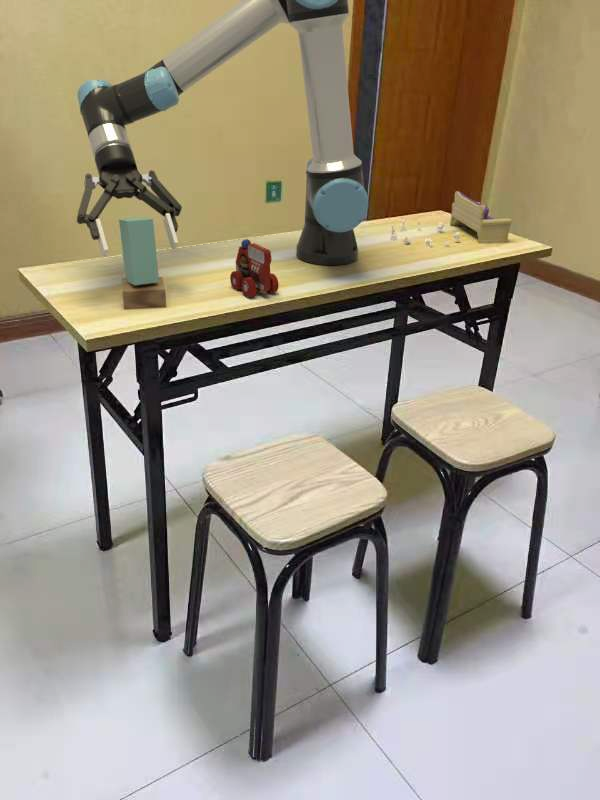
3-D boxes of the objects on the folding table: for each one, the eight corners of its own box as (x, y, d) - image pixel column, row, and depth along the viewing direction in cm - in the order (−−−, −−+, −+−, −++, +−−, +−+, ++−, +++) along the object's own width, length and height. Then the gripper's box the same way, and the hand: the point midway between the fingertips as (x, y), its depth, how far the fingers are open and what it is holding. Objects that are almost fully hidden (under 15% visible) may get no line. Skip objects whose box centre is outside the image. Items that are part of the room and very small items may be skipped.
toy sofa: (508, 244, 186) (515, 206, 182) (479, 245, 185) (485, 206, 180) (475, 225, 204) (480, 189, 199) (448, 225, 202) (453, 190, 198)
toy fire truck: (253, 280, 151) (253, 233, 146) (282, 297, 142) (284, 247, 137) (225, 284, 148) (224, 236, 143) (253, 302, 139) (253, 252, 134)
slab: (163, 295, 141) (161, 276, 139) (166, 309, 135) (165, 289, 133) (123, 297, 139) (121, 278, 138) (124, 311, 133) (122, 291, 131)
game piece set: (424, 227, 200) (426, 214, 198) (475, 244, 186) (477, 230, 184) (373, 235, 190) (374, 221, 189) (422, 253, 176) (424, 238, 174)
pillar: (150, 278, 138) (144, 217, 134) (159, 282, 134) (152, 219, 130) (126, 281, 136) (118, 219, 132) (134, 285, 132) (127, 221, 128)
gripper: (170, 163, 144) (198, 252, 140) (47, 169, 133) (73, 266, 129) (177, 140, 138) (207, 233, 133) (48, 144, 127) (75, 245, 122)
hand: (141, 249), depth 131 cm, fingers open, 13 cm apart
